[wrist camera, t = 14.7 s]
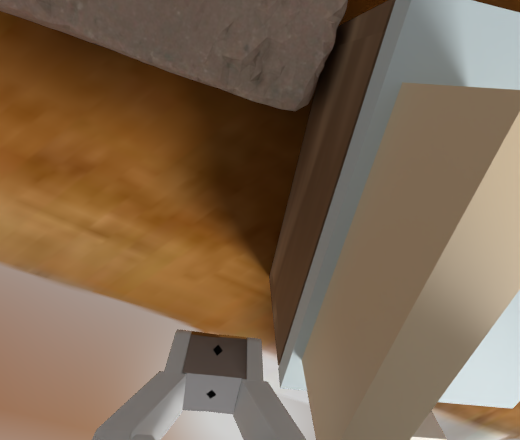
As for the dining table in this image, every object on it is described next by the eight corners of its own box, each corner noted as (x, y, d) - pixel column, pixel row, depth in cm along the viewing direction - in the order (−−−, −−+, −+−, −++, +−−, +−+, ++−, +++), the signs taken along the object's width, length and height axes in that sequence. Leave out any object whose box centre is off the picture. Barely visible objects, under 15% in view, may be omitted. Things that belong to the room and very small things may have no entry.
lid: (755, 85, 9) (1240, 98, 5) (497, 389, 16) (596, 515, 11) (396, -5, 8) (594, -106, 3) (278, 368, 14) (291, 502, 10)
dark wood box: (546, 80, 16) (745, 85, 9) (425, 297, 22) (494, 385, 16) (330, 30, 14) (393, -3, 8) (269, 276, 21) (277, 364, 15)
